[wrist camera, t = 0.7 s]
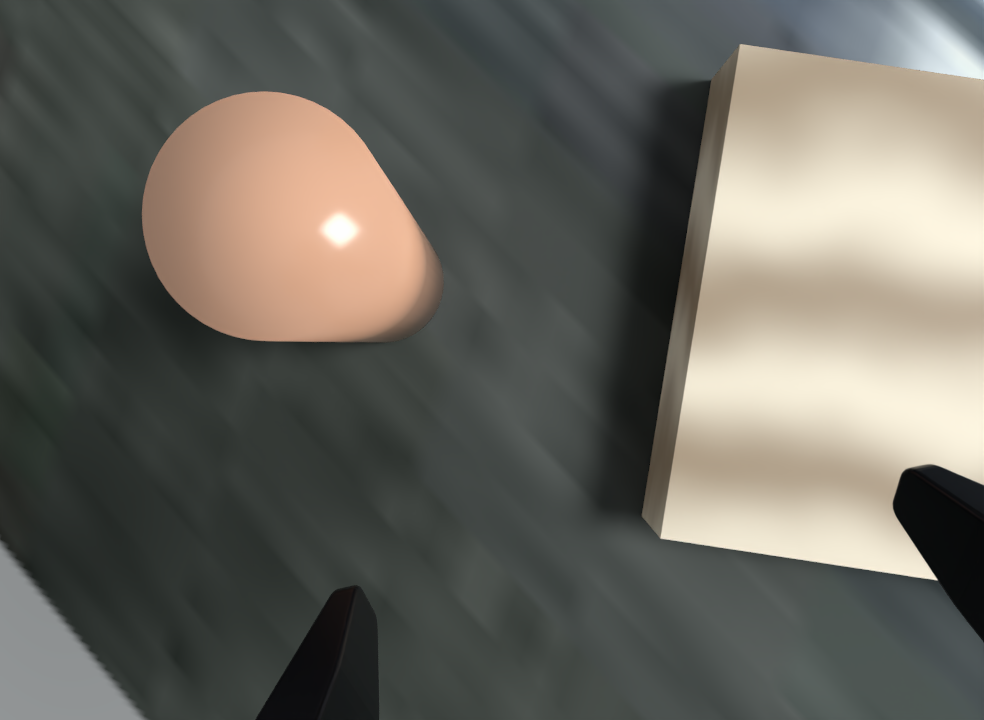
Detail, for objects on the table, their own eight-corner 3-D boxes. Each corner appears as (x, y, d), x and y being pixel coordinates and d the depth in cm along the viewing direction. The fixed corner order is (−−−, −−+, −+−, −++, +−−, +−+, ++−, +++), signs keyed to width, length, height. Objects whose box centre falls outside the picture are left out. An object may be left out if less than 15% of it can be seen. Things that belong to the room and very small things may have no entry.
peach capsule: (434, 351, 22) (369, 358, 11) (314, 332, 22) (127, 321, 11) (451, 230, 22) (405, 110, 11) (331, 212, 22) (158, 75, 11)
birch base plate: (1073, 581, 22) (1148, 612, 19) (641, 516, 22) (660, 538, 19) (1155, 144, 21) (1243, 117, 19) (711, 79, 21) (740, 44, 19)
